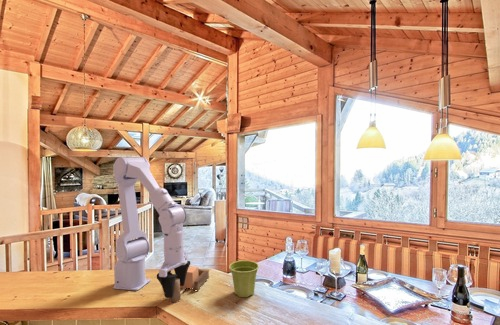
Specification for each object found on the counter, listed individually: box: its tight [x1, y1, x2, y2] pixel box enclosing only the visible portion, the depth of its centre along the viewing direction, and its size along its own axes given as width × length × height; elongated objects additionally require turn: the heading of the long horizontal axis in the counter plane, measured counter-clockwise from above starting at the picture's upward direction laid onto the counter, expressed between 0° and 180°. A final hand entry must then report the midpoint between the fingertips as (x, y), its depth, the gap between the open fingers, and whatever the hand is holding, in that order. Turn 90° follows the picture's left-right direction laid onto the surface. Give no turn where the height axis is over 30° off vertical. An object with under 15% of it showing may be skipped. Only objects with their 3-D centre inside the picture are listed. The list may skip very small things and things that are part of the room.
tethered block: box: [169, 265, 199, 303], centre depth 90 cm, size 5×14×6 cm, turn 168°
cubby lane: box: [194, 268, 210, 291], centre depth 96 cm, size 9×10×3 cm
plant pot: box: [229, 259, 260, 298], centre depth 88 cm, size 9×9×9 cm
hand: (175, 291), depth 85 cm, fingers open, 7 cm apart
